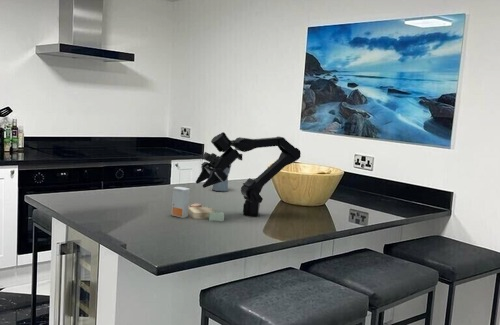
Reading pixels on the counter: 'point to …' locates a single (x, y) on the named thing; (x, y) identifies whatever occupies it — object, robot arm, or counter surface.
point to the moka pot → (222, 183)
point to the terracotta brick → (196, 205)
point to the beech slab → (200, 212)
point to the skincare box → (180, 202)
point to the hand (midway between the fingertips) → (199, 184)
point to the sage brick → (216, 216)
